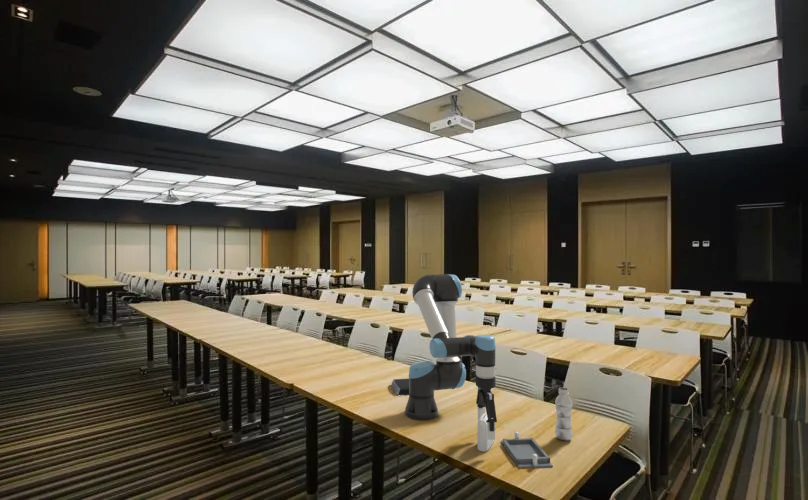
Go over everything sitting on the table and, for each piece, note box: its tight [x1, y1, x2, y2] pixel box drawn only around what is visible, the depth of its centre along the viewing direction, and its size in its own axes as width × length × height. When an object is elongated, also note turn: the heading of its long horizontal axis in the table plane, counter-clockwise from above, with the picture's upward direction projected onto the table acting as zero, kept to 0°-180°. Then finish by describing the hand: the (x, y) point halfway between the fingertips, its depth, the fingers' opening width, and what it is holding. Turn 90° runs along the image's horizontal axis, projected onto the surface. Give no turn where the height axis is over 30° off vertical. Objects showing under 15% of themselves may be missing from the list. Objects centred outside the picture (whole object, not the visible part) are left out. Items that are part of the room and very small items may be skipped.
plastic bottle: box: [554, 387, 574, 441], centre depth 165 cm, size 6×7×20 cm
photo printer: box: [476, 411, 494, 453], centre depth 158 cm, size 10×4×12 cm, turn 152°
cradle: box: [500, 431, 553, 469], centre depth 152 cm, size 12×20×4 cm, turn 4°
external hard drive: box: [390, 377, 409, 396], centre depth 226 cm, size 13×19×4 cm
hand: (486, 431), depth 158 cm, fingers open, 13 cm apart
